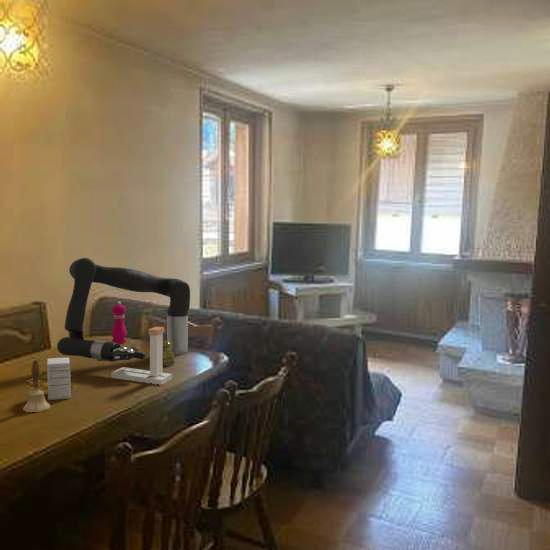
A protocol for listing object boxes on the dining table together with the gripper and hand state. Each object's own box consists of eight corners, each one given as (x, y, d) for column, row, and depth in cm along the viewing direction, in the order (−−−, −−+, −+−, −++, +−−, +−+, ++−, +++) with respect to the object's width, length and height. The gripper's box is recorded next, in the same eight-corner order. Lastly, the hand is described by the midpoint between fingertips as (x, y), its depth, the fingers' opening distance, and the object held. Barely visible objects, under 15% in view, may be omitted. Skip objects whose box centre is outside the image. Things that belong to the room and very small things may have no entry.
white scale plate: (122, 372, 222) (122, 366, 222) (172, 379, 215) (172, 373, 215) (111, 377, 214) (110, 372, 214) (161, 385, 208) (161, 379, 207)
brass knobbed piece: (176, 362, 238) (177, 339, 237) (171, 367, 231) (172, 343, 230) (160, 361, 239) (160, 338, 238) (154, 366, 232) (154, 342, 230)
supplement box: (47, 393, 195) (47, 358, 194) (70, 391, 198) (69, 356, 196) (47, 400, 189) (46, 364, 187) (70, 398, 191) (70, 362, 190)
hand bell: (18, 407, 181) (17, 360, 179) (44, 401, 187) (43, 355, 185) (28, 415, 175) (27, 365, 174) (54, 408, 181) (53, 361, 179)
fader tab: (155, 372, 216) (156, 326, 214) (164, 373, 215) (164, 327, 212) (148, 376, 210) (148, 329, 208) (156, 377, 209) (156, 330, 207)
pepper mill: (129, 341, 271) (129, 300, 268) (123, 344, 264) (123, 303, 261) (114, 340, 272) (114, 299, 269) (108, 343, 264) (108, 302, 262)
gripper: (95, 345, 212) (134, 350, 207) (115, 338, 224) (153, 342, 219) (95, 364, 213) (134, 370, 208) (115, 356, 225) (153, 361, 220)
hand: (144, 356), depth 213 cm, fingers closed
